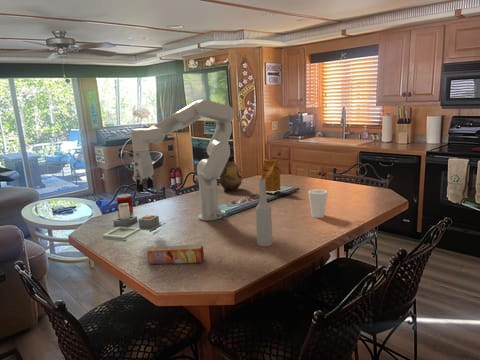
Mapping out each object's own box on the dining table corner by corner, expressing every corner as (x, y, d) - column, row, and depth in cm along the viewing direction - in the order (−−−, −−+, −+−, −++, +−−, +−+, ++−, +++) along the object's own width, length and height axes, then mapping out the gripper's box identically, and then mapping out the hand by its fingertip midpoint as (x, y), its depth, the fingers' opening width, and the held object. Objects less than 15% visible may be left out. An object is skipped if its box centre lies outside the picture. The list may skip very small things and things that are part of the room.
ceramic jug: (242, 192, 244) (240, 148, 238) (219, 193, 244) (217, 149, 238) (242, 186, 260) (240, 145, 254) (221, 187, 261) (218, 146, 255)
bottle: (261, 247, 150) (258, 182, 144) (254, 242, 156) (251, 179, 150) (275, 244, 152) (273, 179, 146) (268, 239, 158) (265, 177, 152)
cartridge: (132, 221, 188) (130, 203, 186) (126, 224, 183) (124, 206, 181) (124, 221, 190) (122, 202, 188) (118, 224, 185) (116, 205, 183)
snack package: (147, 266, 138) (145, 249, 137) (153, 259, 145) (151, 243, 143) (202, 265, 137) (201, 248, 135) (205, 258, 143) (203, 242, 142)
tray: (140, 232, 176) (139, 228, 175) (124, 241, 165) (124, 236, 164) (120, 230, 180) (119, 226, 179) (103, 239, 169) (103, 234, 168)
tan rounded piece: (154, 222, 182) (154, 215, 182) (150, 225, 179) (149, 217, 178) (148, 222, 184) (147, 214, 183) (143, 224, 180) (142, 217, 179)
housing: (161, 225, 185) (160, 214, 184) (150, 231, 176) (149, 221, 175) (125, 222, 193) (124, 212, 192) (112, 228, 184) (111, 218, 183)
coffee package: (269, 189, 248) (268, 157, 243) (282, 192, 239) (281, 159, 234) (258, 192, 242) (257, 159, 237) (272, 195, 232) (270, 161, 228)
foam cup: (329, 214, 189) (329, 189, 186) (325, 219, 180) (325, 194, 178) (311, 212, 193) (310, 189, 190) (306, 217, 184) (306, 193, 182)
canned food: (135, 212, 211) (133, 193, 208) (127, 216, 203) (125, 197, 201) (125, 211, 213) (122, 193, 211) (116, 215, 206) (113, 197, 204)
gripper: (137, 157, 165) (141, 194, 168) (158, 151, 181) (161, 186, 184) (123, 157, 167) (128, 194, 171) (145, 151, 183) (149, 185, 187)
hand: (145, 189), depth 178 cm, fingers open, 7 cm apart
